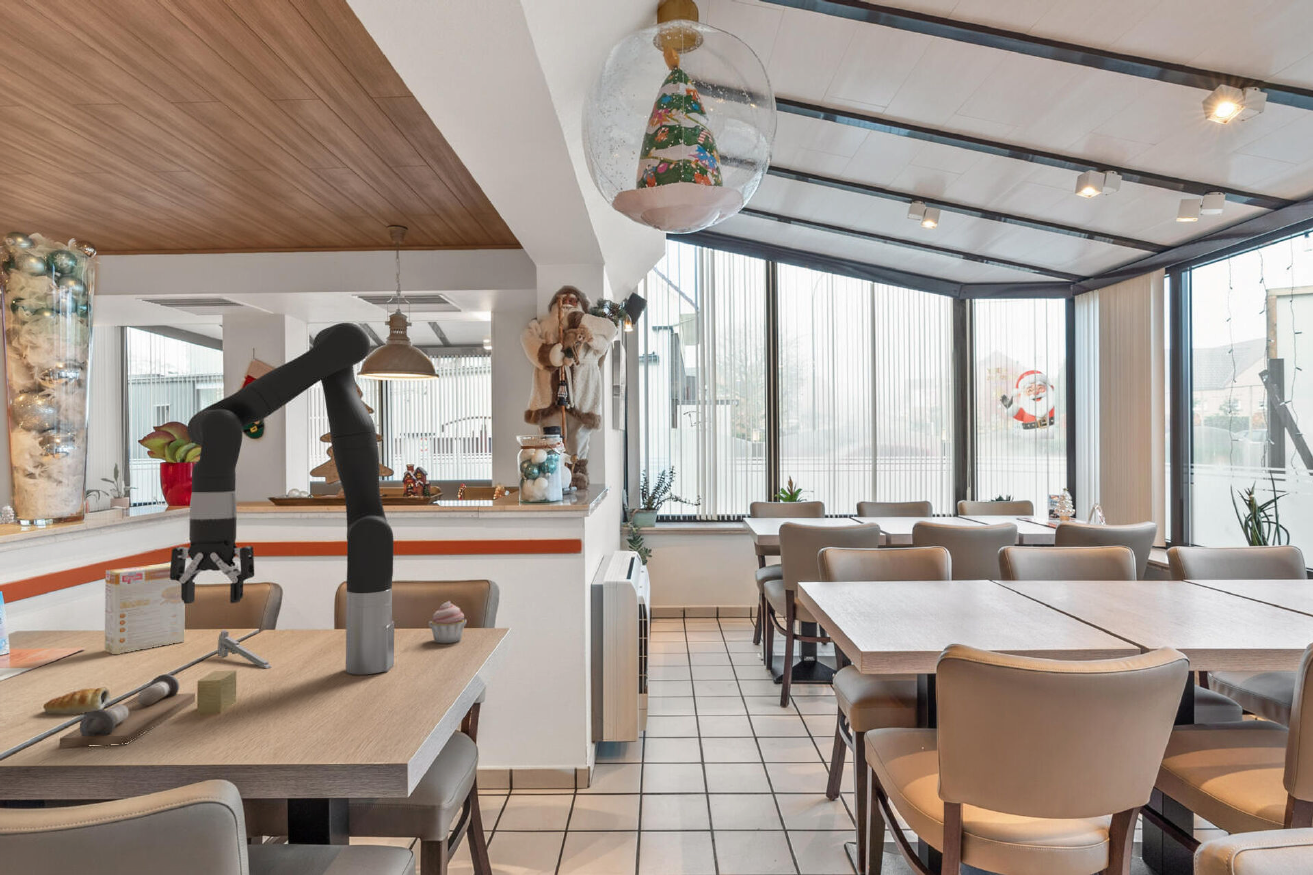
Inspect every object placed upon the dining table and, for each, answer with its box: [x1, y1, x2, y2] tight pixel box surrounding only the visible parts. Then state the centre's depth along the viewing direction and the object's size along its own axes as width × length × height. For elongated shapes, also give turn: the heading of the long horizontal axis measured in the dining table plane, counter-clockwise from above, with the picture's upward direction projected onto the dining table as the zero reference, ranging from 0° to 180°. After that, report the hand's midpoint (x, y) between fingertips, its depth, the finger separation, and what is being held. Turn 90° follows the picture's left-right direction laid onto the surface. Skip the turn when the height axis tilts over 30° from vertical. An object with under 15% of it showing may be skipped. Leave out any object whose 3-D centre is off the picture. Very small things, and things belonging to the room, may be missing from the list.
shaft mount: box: [59, 673, 196, 749], centre depth 126 cm, size 10×21×5 cm, turn 7°
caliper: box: [217, 629, 272, 670], centre depth 164 cm, size 20×1×6 cm, turn 58°
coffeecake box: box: [104, 562, 186, 655], centre depth 178 cm, size 15×7×20 cm, turn 144°
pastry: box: [42, 686, 111, 715], centre depth 133 cm, size 9×7×4 cm
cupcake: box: [428, 600, 467, 644], centre depth 182 cm, size 9×9×10 cm
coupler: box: [196, 670, 237, 715], centre depth 133 cm, size 4×6×6 cm, turn 7°
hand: (212, 602), depth 135 cm, fingers open, 8 cm apart
